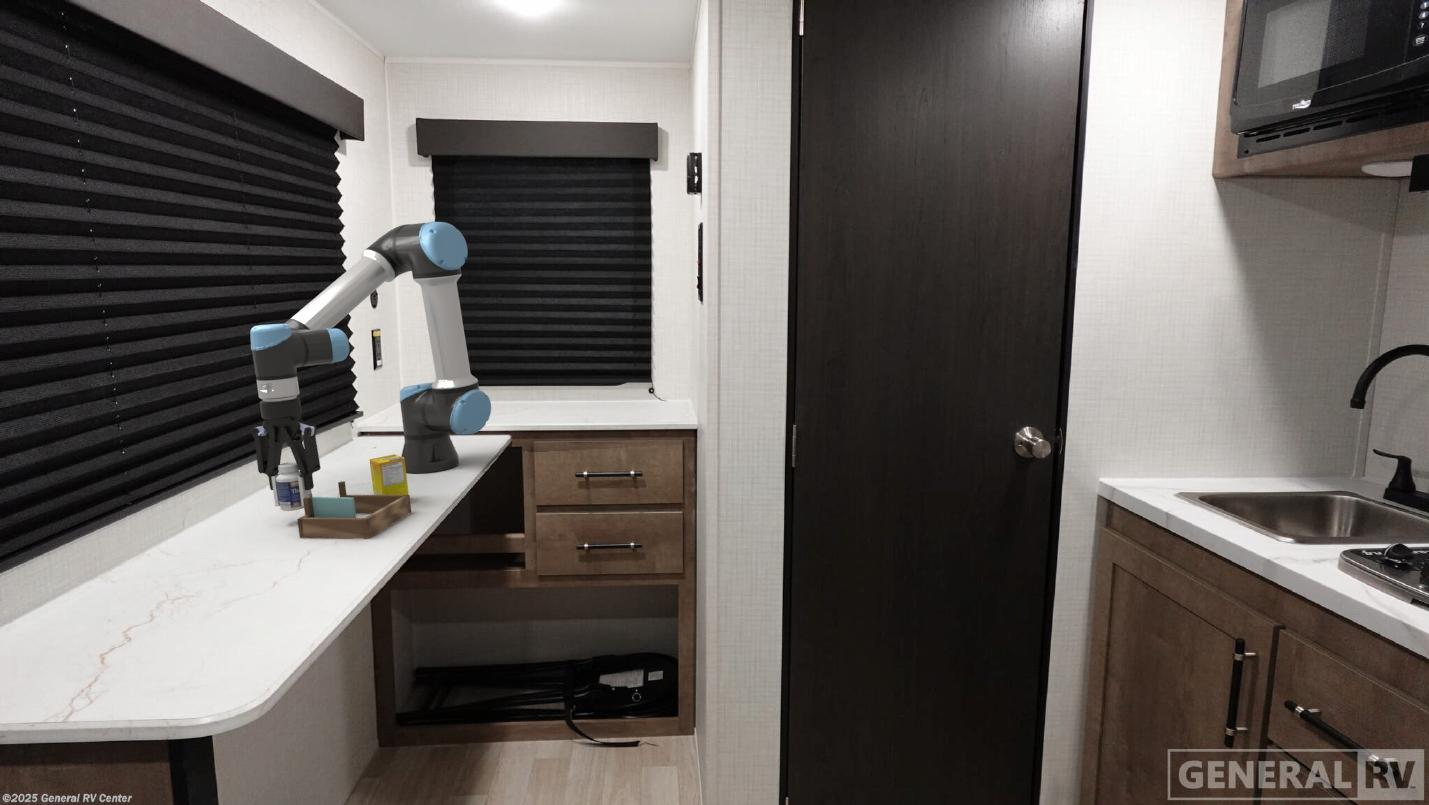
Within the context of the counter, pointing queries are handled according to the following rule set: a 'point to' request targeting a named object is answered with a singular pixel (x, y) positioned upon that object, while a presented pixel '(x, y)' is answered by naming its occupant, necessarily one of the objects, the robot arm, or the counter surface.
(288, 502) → the pill bottle
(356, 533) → the wooden square frame
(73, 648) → the counter surface
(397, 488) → the supplement box
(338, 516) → the teal rectangular panel
